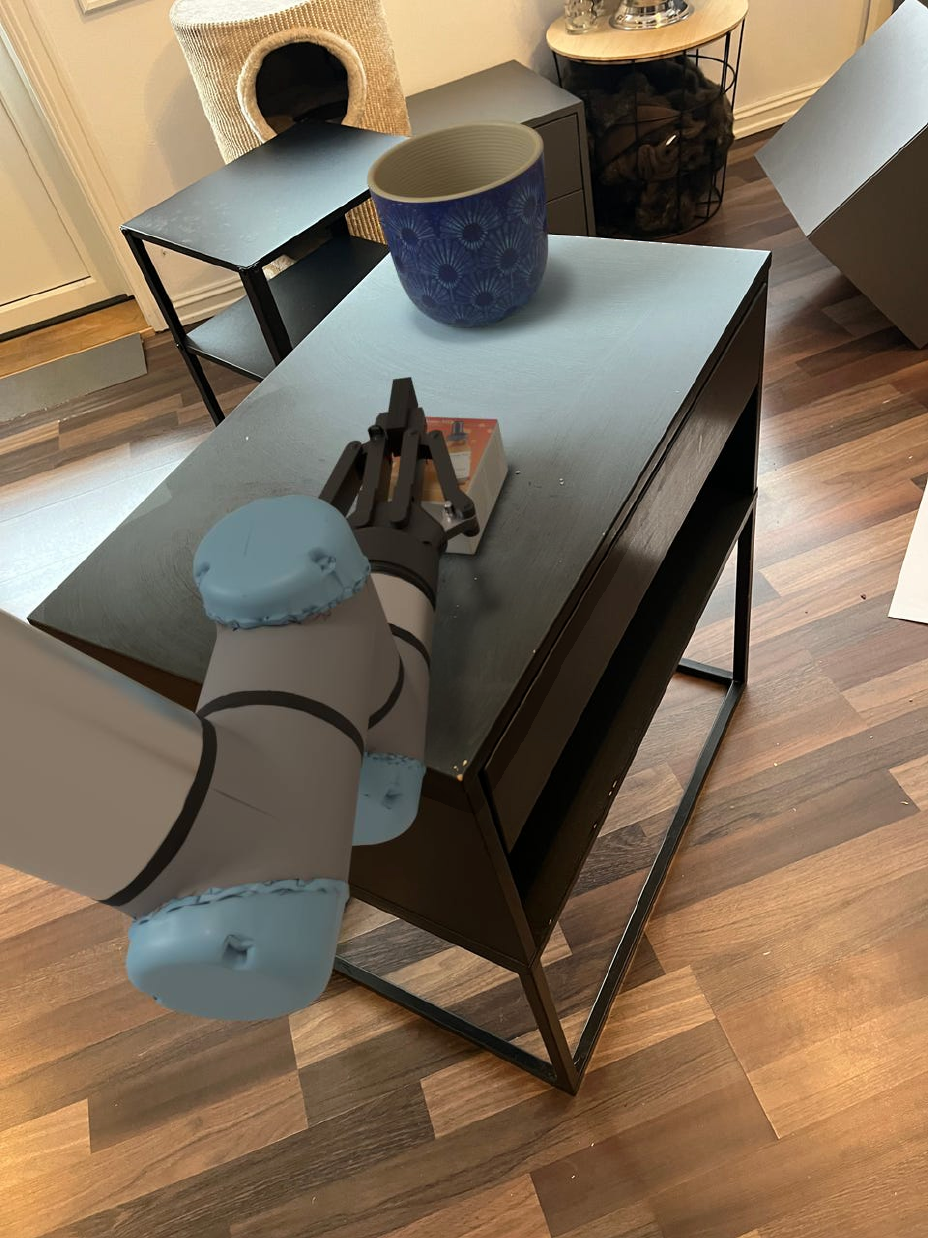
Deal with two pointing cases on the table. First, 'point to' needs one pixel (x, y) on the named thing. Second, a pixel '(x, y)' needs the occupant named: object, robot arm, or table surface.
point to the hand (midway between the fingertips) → (405, 392)
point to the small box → (464, 471)
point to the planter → (465, 219)
